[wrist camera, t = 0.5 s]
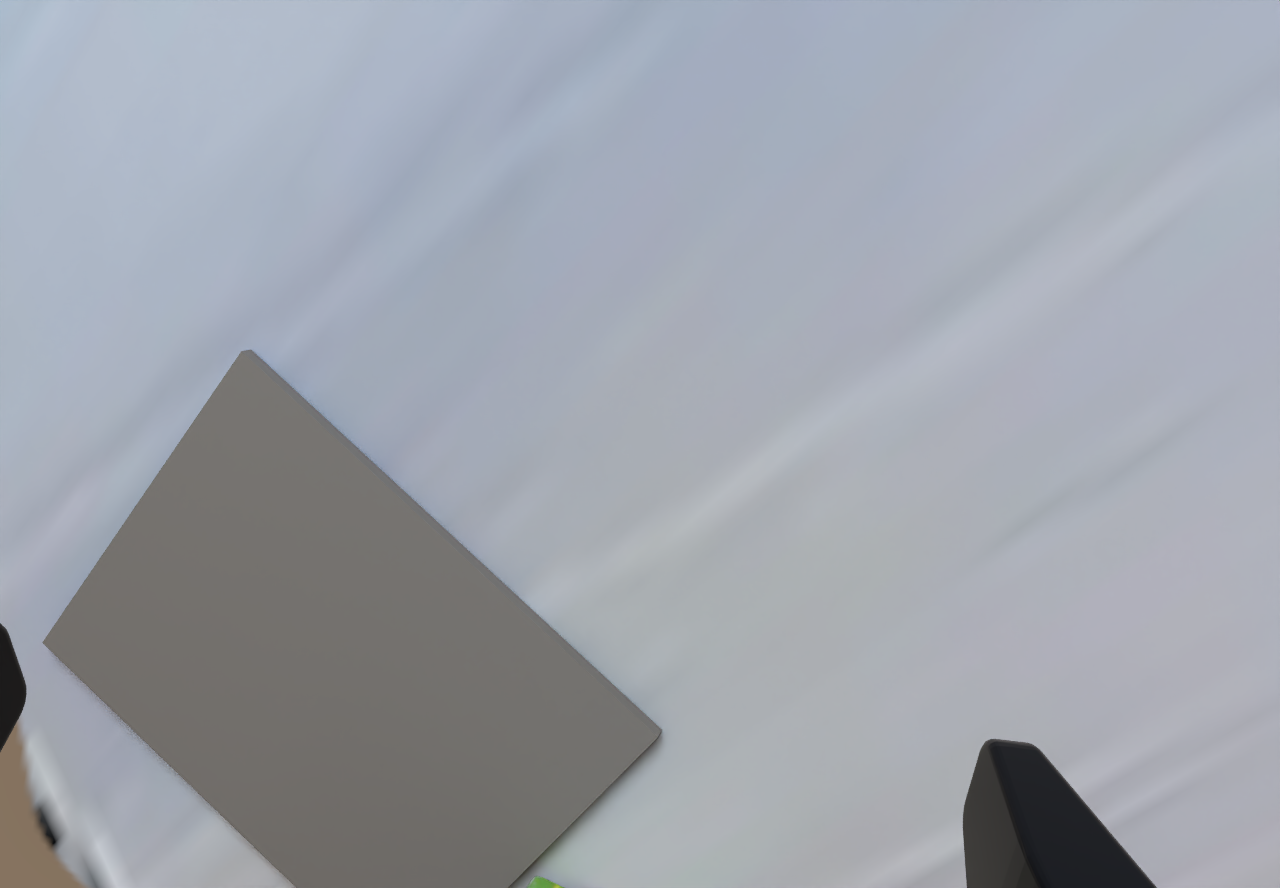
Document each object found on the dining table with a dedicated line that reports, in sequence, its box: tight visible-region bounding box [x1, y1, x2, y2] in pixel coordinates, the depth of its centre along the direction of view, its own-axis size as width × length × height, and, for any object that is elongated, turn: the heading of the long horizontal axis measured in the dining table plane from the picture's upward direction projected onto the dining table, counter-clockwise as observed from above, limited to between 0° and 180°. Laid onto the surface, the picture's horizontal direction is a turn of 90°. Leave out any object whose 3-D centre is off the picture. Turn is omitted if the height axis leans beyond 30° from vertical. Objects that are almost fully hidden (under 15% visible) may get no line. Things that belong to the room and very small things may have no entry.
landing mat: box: [43, 350, 662, 888], centre depth 28 cm, size 14×11×1 cm
